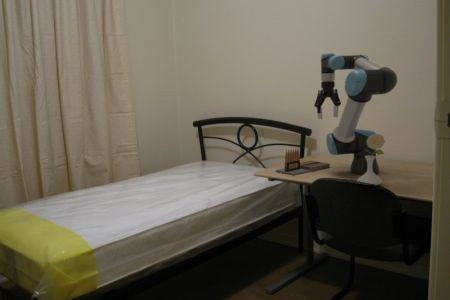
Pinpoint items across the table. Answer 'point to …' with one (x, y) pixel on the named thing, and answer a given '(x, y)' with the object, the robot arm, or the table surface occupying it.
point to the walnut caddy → (314, 165)
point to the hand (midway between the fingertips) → (327, 118)
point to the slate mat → (295, 172)
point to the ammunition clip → (292, 160)
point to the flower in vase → (375, 143)
